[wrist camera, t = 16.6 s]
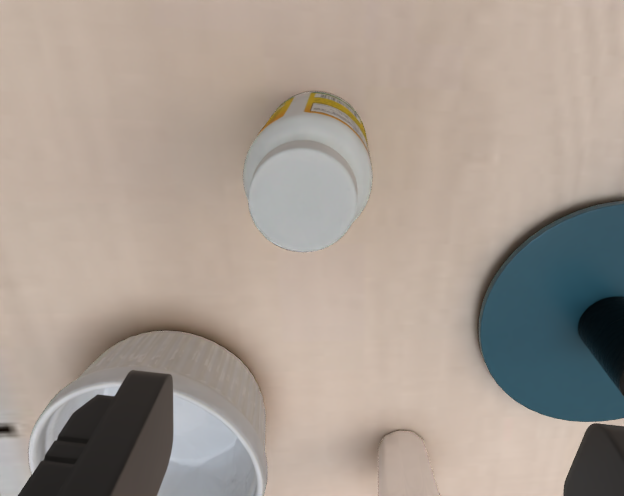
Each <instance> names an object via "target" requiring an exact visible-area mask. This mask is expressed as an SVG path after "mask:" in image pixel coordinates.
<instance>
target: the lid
mask: <svg viewBox="0 0 624 496" xmlns="http://www.w3.org/2000/svg"><path fill="white" fill-rule="evenodd" d="M478 334H479V343H480V348H481V352H482V355H483V358H484V361H485V363H486V365H487V367H488V370H489V372H490V374H491V375H492V377H493V378H494V380H495V381H496V382H497V384H498V385H499V386H500V387H501V388H502V389H503V390H504V391H505V392H506V393H507V394H508V395H509V396H510V397H512V398H513V399H514V400H515V401H517V402H518V403H520V404H522V405H523V406H525V407H527V408H528V409H531V410H533V411H535V412H538V413H540V414H543V415H546V416H549V417H553V418H557V419H562V420H568V421H580V422H597V421H608V420H616V419H621V418H624V201H616V202H610V203H605V204H599V205H595V206H592V207H588V208H585V209H582V210H578V211H576V212H574V213H571V214H569V215H566V216H564V217H562V218H560V219H558V220H556V221H554V222H552V223H551V224H549V225H547V226H545V227H544V228H542V229H541V230H539V231H538V232H537V233H535V234H534V235H532V236H531V237H529V238H528V239H527V240H526V241H525V242H524V243H523V244H521V245H520V246H519V247H518V248H517V249H516V250H515V251H514V252H513V253H512V254H511V255H510V256H509V258H508V259H507V260H506V261H505V262H504V263H503V265H502V266H501V268H500V269H499V270H498V272H497V273H496V275H495V276H494V278H493V280H492V282H491V284H490V286H489V287H488V289H487V292H486V295H485V297H484V300H483V303H482V307H481V311H480V316H479V329H478Z"/></svg>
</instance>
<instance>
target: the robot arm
mask: <svg viewBox="0 0 624 496" xmlns="http://www.w3.org/2000/svg"><path fill="white" fill-rule="evenodd" d="M172 445H173V378H172V375H171V374H164V373H155V372H147V371H138V370H131V371H130V372H129V373H128V374H127V376H126V377H125V379H124V381H123V383H122V384H121V386H120V388H119V389H118V391H117V393H116V395H115V396H107V395H98V394H97V395H96V396H95V397H93V398H92V399H91V400H89V401H88V402H87V403H85V404H84V405H83V406H81V407H80V408H79V409H77V410H76V411H75V412H74V413H73V414H72V415H71V417H70V418H69V420H68V421H67V423H66V424H65V426H64V427H63V429H62V430H61V432H60V433H59V435H58V439H57V441H54V442H53V444H52V445H51V447H50V448H49V450H48V451H47V453H46V454H45V458H44V460H43V461H41V462H40V463H39V465H38V466H37V468H36V469H35V471H34V472H33V474H32V475H31V477H30V478H29V480H28V481H27V483H26V484H25V486H24V487H23V489H22V490H21V492H20V493H19V495H18V496H157V494H158V492H159V489H160V486H161V484H162V481H163V478H164V476H165V473H166V470H167V467H168V464H169V460H170V456H171V451H172ZM564 496H624V427H623V426H614V425H606V424H597V423H596V424H592V425H590V426H589V427H588V429H587V430H586V432H585V435H584V437H583V439H582V442H581V444H580V447H579V449H578V451H577V454H576V456H575V458H574V461H573V463H572V466H571V468H570V470H569V473H568V475H567V478H566V480H565V484H564Z"/></svg>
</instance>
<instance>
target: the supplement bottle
mask: <svg viewBox="0 0 624 496" xmlns="http://www.w3.org/2000/svg"><path fill="white" fill-rule="evenodd" d="M372 178H373V176H372V164H371V159H370V154H369V149H368V143H367V138H366V133H365V129H364V126H363V123H362V121H361V119H360V117H359V116H358V114H357V112H356V111H355V110H354V109H353V108H352V107H351V106H350V105H349V104H348V103H347V102H346V101H344V100H343V99H341V98H339V97H337V96H335V95H333V94H329V93H326V92H318V91H311V92H304V93H301V94H298V95H295V96H293V97H291V98H290V99H288V100H286V101H285V102H284V103H283V104H281V105H280V106H279V107H278V108H277V110H276V111H275V112H274V113H273V115H272V116H271V118H270V119H269V120H268V122H267V123H266V125H265V126H264V127H263V129H262V130H261V131H260V132H259V134H258V135H257V137H256V138H255V140H254V141H253V143H252V145H251V147H250V149H249V151H248V153H247V156H246V159H245V163H244V170H243V182H244V189H245V193H246V196H247V199H248V205H249V210H250V214H251V217H252V219H253V221H254V223H255V225H256V227H257V228H258V229H259V231H260V232H261V233H262V234H263V235H264V236H265V237H266V238H267V239H268V240H269V241H271V242H272V243H274V244H275V245H277V246H279V247H281V248H284V249H286V250H290V251H295V252H313V251H318V250H321V249H324V248H326V247H328V246H330V245H332V244H334V243H335V242H337V241H338V240H339V239H340V238H341V237H342V236H343V235H344V234H345V233H346V232H347V231H348V229H349V228H350V226H351V224H352V223H353V222H354V221H355V220H356V219H357V218H358V216H359V215H360V214H361V212H362V211H363V209H364V208H365V206H366V204H367V201H368V199H369V196H370V192H371V188H372Z"/></svg>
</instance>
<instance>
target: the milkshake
mask: <svg viewBox="0 0 624 496" xmlns="http://www.w3.org/2000/svg"><path fill="white" fill-rule="evenodd" d="M378 496H440V493H439V490H438V486H437V483H436V480H435V476H434V473H433V470H432V466H431V463H430V460H429V456H428V453H427V449H426V446H425V443H424V440H423V439H422V438H421V437H420V436H418V435H417V434H415V433H414V432H412V431H400V430H397V431H395V432H392V433H390V434H388V435H385V436H384V437H383V439H382V441H381V442H380V444H379V446H378Z"/></svg>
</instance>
